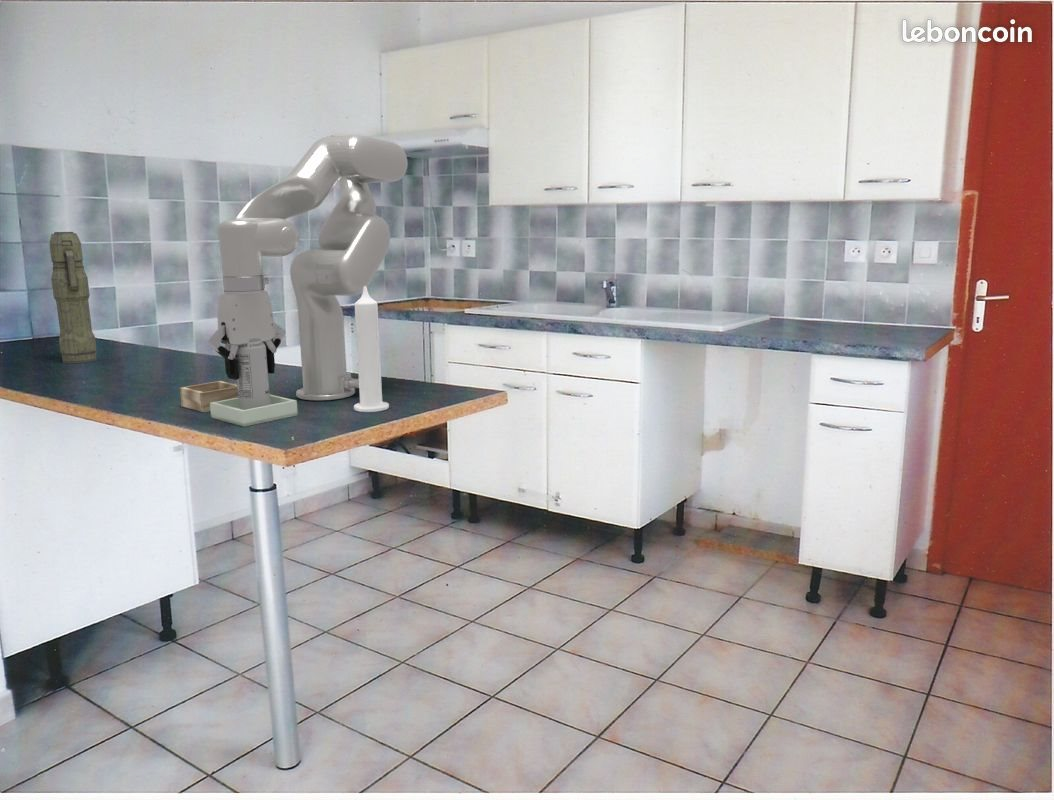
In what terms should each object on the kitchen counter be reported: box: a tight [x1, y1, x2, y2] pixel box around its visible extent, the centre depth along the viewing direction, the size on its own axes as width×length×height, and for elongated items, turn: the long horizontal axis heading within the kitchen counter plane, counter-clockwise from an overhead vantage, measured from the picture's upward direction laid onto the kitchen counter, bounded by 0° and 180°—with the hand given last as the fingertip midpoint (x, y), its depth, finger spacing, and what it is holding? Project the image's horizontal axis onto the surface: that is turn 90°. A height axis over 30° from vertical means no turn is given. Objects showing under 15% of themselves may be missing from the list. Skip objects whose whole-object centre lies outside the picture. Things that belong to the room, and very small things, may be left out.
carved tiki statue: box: [49, 231, 98, 364], centre depth 239 cm, size 9×12×35 cm
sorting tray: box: [209, 394, 299, 428], centre depth 174 cm, size 12×12×3 cm
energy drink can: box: [235, 339, 271, 410], centre depth 173 cm, size 6×6×15 cm
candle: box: [353, 286, 390, 413], centre depth 177 cm, size 7×7×25 cm
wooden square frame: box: [179, 380, 238, 413], centre depth 184 cm, size 9×9×4 cm
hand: (251, 375), depth 172 cm, fingers open, 7 cm apart
